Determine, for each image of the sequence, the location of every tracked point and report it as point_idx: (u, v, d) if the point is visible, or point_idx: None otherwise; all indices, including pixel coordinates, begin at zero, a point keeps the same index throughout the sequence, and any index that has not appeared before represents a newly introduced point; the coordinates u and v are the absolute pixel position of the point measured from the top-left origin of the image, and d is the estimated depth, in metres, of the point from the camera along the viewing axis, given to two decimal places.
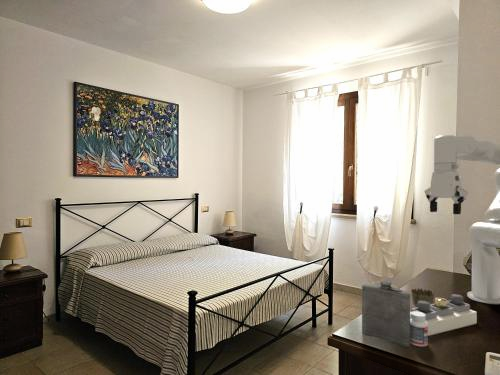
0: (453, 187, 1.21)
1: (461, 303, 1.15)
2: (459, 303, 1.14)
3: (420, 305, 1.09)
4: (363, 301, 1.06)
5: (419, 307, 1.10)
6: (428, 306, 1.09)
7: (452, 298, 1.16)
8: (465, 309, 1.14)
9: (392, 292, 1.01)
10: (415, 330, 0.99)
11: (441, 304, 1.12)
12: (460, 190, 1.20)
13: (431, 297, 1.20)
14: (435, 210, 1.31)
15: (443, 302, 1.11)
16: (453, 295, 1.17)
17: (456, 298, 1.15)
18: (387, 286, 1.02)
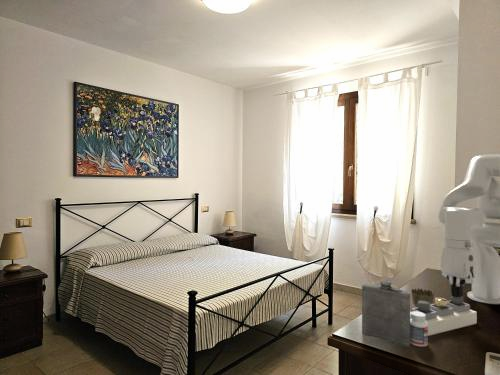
0: (467, 268, 1.11)
1: (461, 303, 1.15)
2: (459, 303, 1.14)
3: (420, 305, 1.09)
4: (363, 301, 1.06)
5: (419, 307, 1.10)
6: (428, 306, 1.09)
7: (452, 298, 1.16)
8: (465, 309, 1.14)
9: (392, 292, 1.01)
10: (415, 330, 0.99)
11: (441, 304, 1.12)
12: (468, 276, 1.12)
13: (431, 297, 1.20)
14: None
15: (443, 302, 1.11)
16: None
17: (456, 298, 1.15)
18: (387, 286, 1.02)
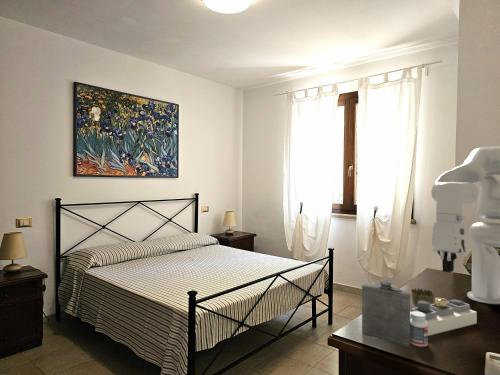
0: (458, 241, 1.09)
1: None
2: None
3: (420, 305, 1.09)
4: (363, 301, 1.06)
5: (419, 307, 1.10)
6: (428, 306, 1.09)
7: (452, 303, 1.16)
8: (465, 309, 1.14)
9: (392, 292, 1.01)
10: (415, 330, 0.99)
11: (441, 304, 1.12)
12: (459, 250, 1.10)
13: (431, 297, 1.20)
14: None
15: (443, 302, 1.11)
16: (453, 301, 1.17)
17: (456, 303, 1.15)
18: (387, 286, 1.02)
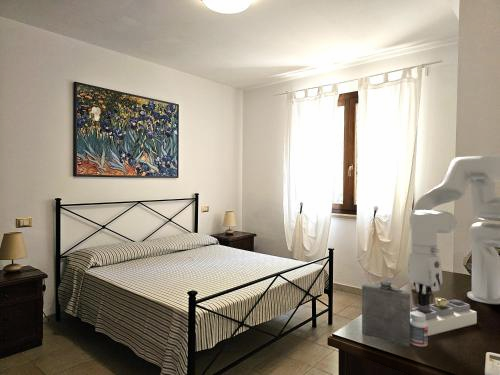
0: (432, 275, 1.05)
1: None
2: None
3: (420, 307, 1.09)
4: (363, 301, 1.06)
5: (419, 309, 1.10)
6: (428, 308, 1.09)
7: (452, 303, 1.16)
8: (465, 309, 1.14)
9: (392, 292, 1.01)
10: (415, 330, 0.99)
11: (441, 304, 1.12)
12: (434, 283, 1.06)
13: (431, 297, 1.20)
14: None
15: (443, 302, 1.11)
16: (453, 301, 1.17)
17: (456, 303, 1.15)
18: (387, 286, 1.02)
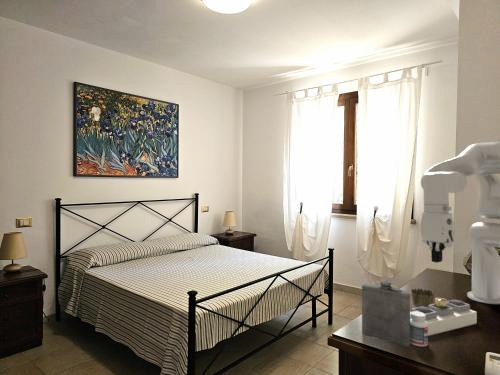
0: (445, 232, 1.09)
1: None
2: None
3: (420, 311, 1.09)
4: (363, 301, 1.06)
5: None
6: (428, 312, 1.09)
7: (452, 303, 1.16)
8: (465, 309, 1.14)
9: (392, 292, 1.01)
10: (415, 329, 0.99)
11: (441, 304, 1.12)
12: (447, 240, 1.10)
13: (431, 297, 1.20)
14: None
15: (443, 302, 1.11)
16: (453, 301, 1.17)
17: (456, 303, 1.15)
18: (387, 286, 1.02)
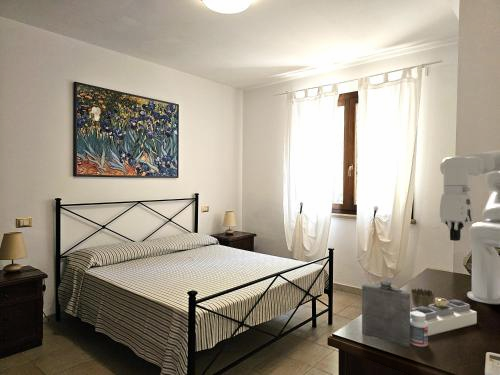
0: (464, 211, 1.16)
1: None
2: None
3: (420, 311, 1.09)
4: (363, 301, 1.06)
5: None
6: (428, 312, 1.09)
7: (452, 303, 1.16)
8: (465, 309, 1.14)
9: (392, 292, 1.01)
10: (415, 330, 0.99)
11: (441, 304, 1.12)
12: None
13: (431, 297, 1.20)
14: None
15: (443, 302, 1.11)
16: (453, 301, 1.17)
17: (456, 303, 1.15)
18: (387, 286, 1.02)
